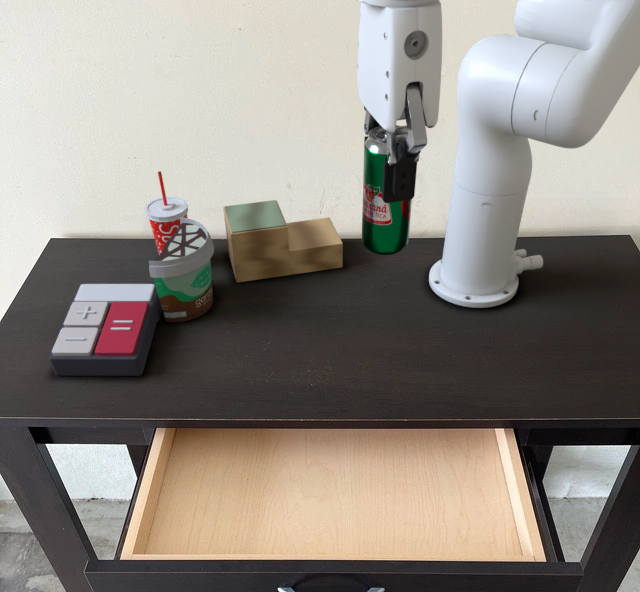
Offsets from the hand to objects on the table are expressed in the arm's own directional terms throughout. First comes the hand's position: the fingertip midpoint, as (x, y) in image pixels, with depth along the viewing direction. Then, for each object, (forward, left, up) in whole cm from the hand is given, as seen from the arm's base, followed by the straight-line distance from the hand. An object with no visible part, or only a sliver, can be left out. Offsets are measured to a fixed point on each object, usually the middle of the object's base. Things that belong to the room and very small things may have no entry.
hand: (388, 184), depth 67 cm
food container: (+21, -18, -23) cm, 36 cm away
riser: (+7, -26, -23) cm, 35 cm away
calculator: (+33, -13, -23) cm, 42 cm away
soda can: (0, 0, -7) cm, 7 cm away
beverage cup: (+23, -30, -23) cm, 44 cm away
